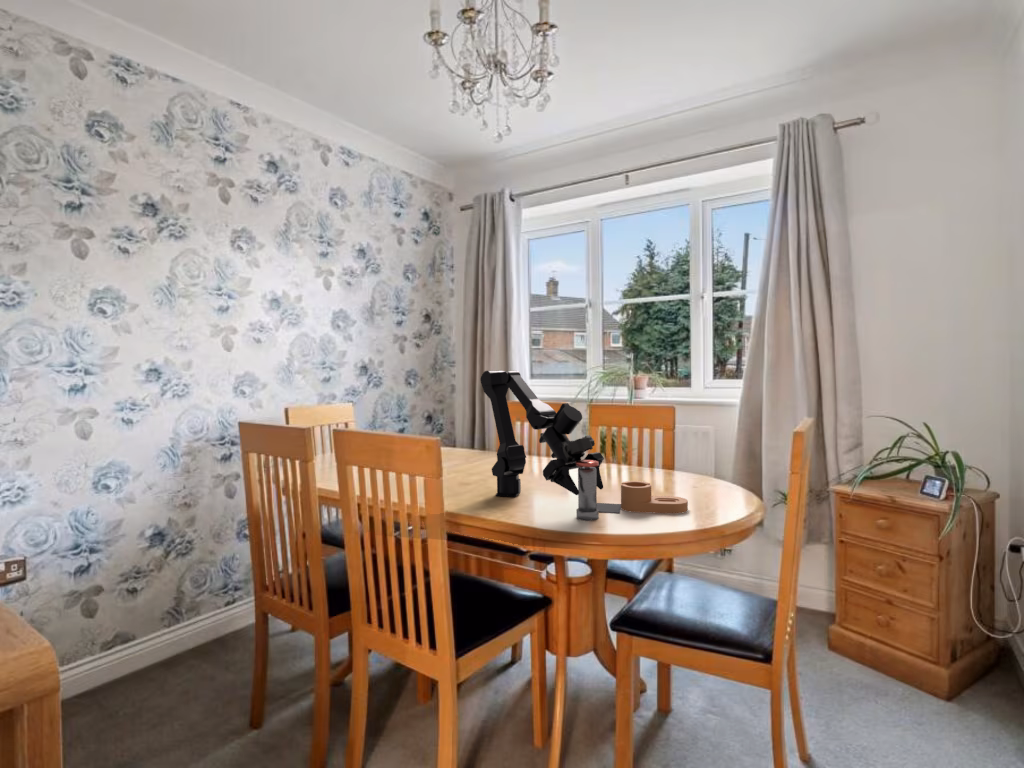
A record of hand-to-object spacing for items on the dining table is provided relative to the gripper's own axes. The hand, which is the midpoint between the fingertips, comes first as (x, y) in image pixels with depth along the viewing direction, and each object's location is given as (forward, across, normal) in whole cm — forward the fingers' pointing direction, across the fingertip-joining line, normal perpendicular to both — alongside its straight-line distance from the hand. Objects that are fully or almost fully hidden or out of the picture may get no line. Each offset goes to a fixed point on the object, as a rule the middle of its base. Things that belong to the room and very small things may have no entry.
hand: (590, 491), depth 148 cm
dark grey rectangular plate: (+3, +11, +8) cm, 13 cm away
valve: (+4, 0, +6) cm, 7 cm away
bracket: (+9, +20, +2) cm, 22 cm away
